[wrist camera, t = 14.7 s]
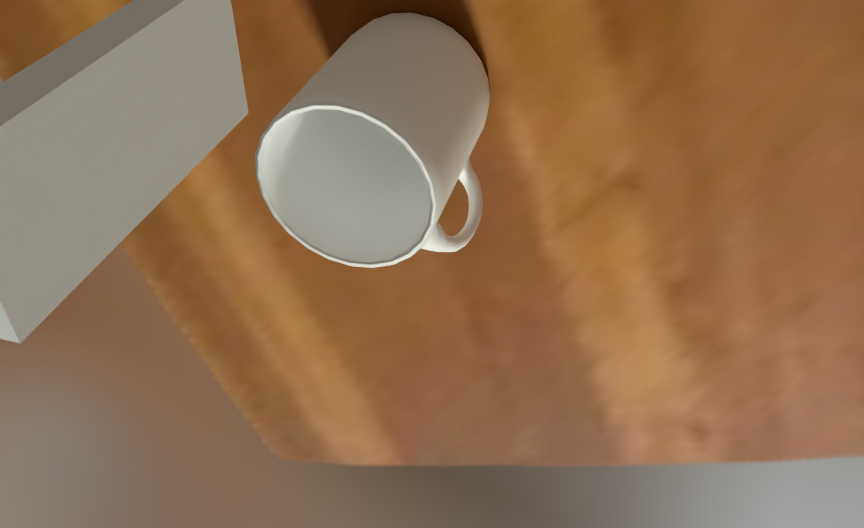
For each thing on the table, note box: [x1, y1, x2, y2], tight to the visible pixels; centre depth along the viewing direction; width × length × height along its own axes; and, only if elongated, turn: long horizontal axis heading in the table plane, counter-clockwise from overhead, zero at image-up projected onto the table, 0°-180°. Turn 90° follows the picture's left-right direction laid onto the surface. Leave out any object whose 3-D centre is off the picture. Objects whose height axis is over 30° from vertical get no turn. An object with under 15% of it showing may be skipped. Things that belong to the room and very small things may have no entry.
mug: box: [255, 13, 490, 268], centre depth 42 cm, size 9×12×12 cm
